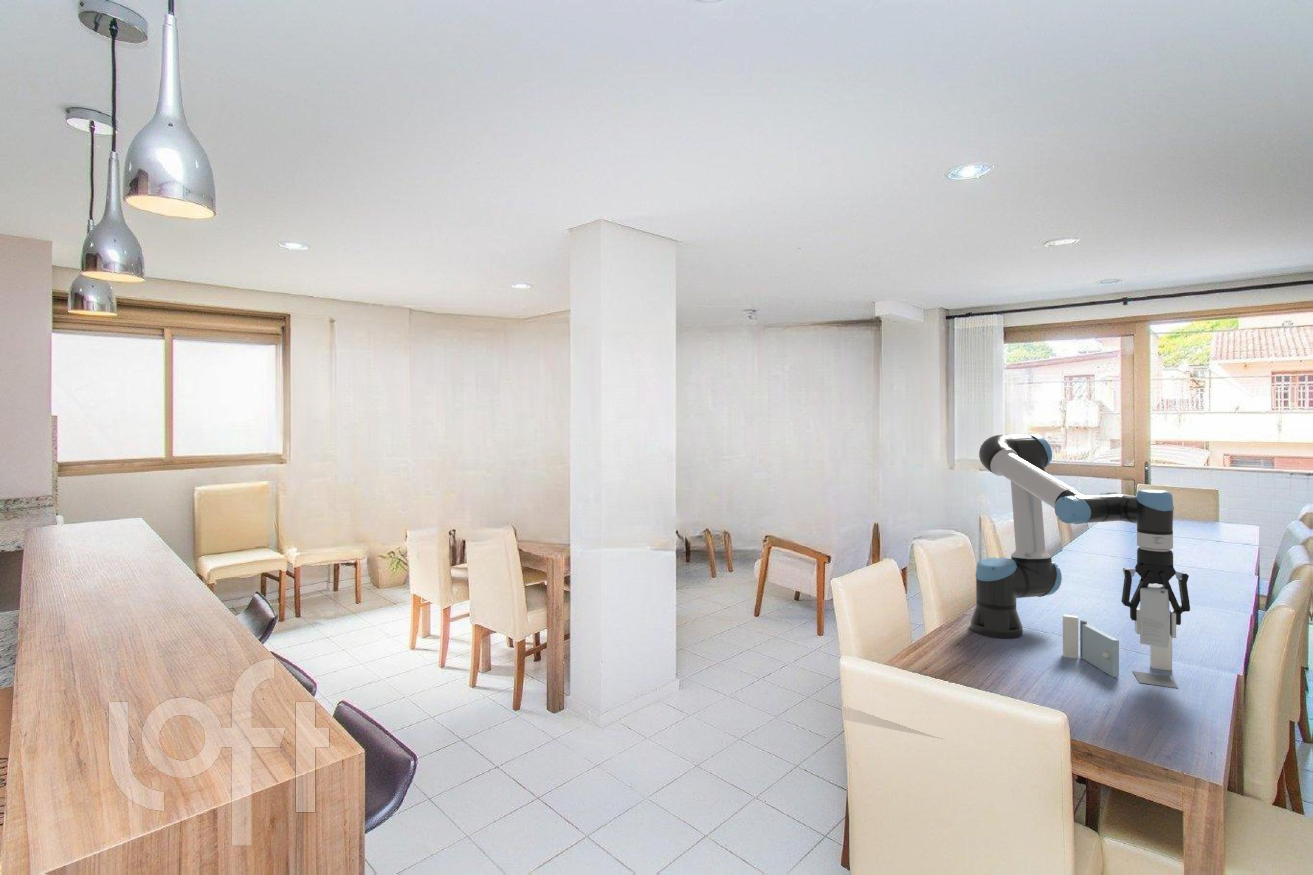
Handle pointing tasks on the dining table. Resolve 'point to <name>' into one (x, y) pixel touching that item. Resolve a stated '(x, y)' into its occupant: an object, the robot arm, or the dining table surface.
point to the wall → (1158, 655)
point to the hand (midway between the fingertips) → (1155, 634)
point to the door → (1099, 649)
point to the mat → (1154, 679)
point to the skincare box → (1154, 616)
